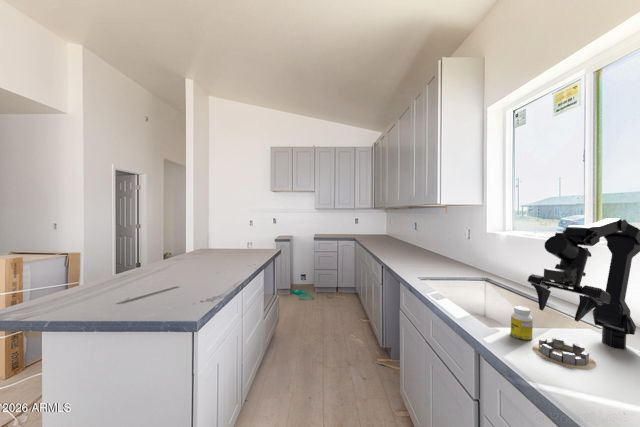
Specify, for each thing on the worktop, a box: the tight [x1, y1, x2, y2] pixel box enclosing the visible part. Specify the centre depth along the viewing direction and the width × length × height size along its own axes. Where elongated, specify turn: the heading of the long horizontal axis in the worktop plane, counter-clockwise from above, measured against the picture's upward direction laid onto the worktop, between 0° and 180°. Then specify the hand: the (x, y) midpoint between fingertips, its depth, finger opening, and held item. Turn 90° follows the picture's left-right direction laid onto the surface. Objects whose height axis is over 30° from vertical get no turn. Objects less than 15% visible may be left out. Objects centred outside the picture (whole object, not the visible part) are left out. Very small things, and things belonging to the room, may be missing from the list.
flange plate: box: [532, 343, 597, 370], centre depth 89 cm, size 15×15×1 cm
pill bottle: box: [510, 305, 534, 342], centre depth 102 cm, size 6×6×11 cm
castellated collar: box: [538, 337, 590, 366], centre depth 89 cm, size 11×11×3 cm
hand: (557, 315), depth 86 cm, fingers open, 9 cm apart
